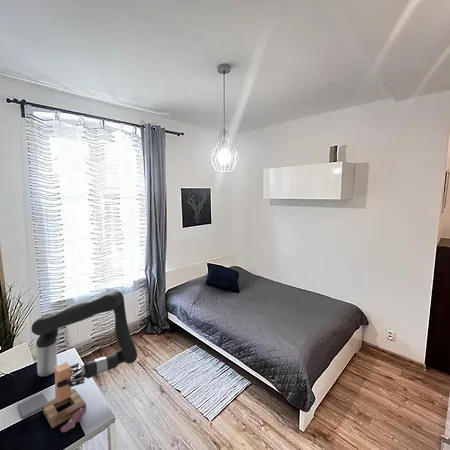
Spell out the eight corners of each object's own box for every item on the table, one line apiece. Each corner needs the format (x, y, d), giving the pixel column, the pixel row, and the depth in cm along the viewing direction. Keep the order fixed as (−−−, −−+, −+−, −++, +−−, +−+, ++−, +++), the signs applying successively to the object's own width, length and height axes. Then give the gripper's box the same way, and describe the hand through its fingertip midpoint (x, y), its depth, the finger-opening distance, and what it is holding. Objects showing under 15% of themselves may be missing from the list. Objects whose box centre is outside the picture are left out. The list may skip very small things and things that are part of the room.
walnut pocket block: (42, 410, 120) (41, 404, 119) (74, 393, 130) (74, 388, 130) (52, 428, 111) (51, 422, 110) (85, 409, 121) (85, 403, 121)
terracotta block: (55, 396, 120) (54, 367, 118) (67, 390, 123) (66, 362, 122) (59, 402, 116) (58, 372, 115) (71, 396, 120) (70, 367, 119)
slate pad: (17, 406, 121) (17, 404, 121) (42, 394, 129) (42, 392, 129) (23, 418, 115) (23, 416, 115) (48, 405, 123) (48, 403, 122)
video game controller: (66, 438, 108) (72, 426, 107) (58, 431, 109) (64, 419, 108) (83, 418, 118) (89, 407, 117) (76, 412, 119) (81, 401, 117)
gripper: (92, 353, 133) (54, 365, 122) (99, 368, 122) (58, 383, 111) (92, 366, 134) (54, 379, 123) (99, 382, 123) (58, 398, 112)
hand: (56, 381), depth 117 cm, fingers closed on terracotta block, 5 cm apart
